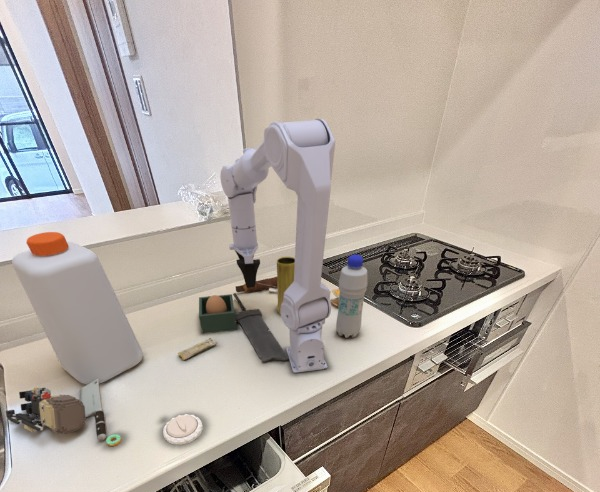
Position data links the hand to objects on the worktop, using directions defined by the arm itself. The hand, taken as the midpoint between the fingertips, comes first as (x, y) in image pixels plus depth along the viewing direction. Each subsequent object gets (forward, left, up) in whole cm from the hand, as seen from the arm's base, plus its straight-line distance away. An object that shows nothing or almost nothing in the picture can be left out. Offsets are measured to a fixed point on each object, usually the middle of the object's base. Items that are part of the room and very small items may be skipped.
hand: (249, 280), depth 92 cm
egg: (-3, +10, -9) cm, 14 cm away
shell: (-3, -23, -8) cm, 25 cm away
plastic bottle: (-16, +36, -9) cm, 41 cm away
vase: (-1, -10, -10) cm, 14 cm away
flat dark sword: (-8, +1, -9) cm, 12 cm away
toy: (-29, +48, -7) cm, 57 cm away
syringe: (+10, -6, -8) cm, 14 cm away
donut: (-40, +27, -10) cm, 49 cm away
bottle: (-16, -23, -10) cm, 30 cm away
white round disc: (-42, +18, -10) cm, 46 cm away
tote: (-3, +10, -9) cm, 14 cm away
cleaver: (-34, +38, -10) cm, 52 cm away
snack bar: (-16, +15, -9) cm, 24 cm away
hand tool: (+13, -22, -7) cm, 27 cm away
